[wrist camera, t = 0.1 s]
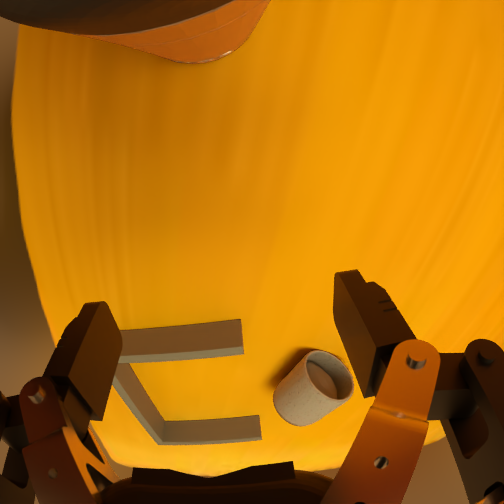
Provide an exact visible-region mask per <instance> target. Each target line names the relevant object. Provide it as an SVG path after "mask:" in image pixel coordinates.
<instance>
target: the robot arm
mask: <svg viewBox="0 0 504 504" xmlns="http://www.w3.org/2000/svg"><path fill="white" fill-rule="evenodd" d="M269 2H270V0H0V16H1V17H3V18H6V19H8V20H11V21H13V22H16V23H20V24H24V25H28V26H32V27H37V28H42V29H48V30H54V31H60V32H65V33H71V34H75V35H80V36H85V37H89V38H94V39H98V40H102V41H106V42H111V43H115V44H119V45H123V46H127V47H130V48H134V49H137V50H141V51H144V52H147V53H151V54H154V55H157V56H160V57H163V58H166V59H170V60H171V61H174V62H180V63H189V64H195V63H206V62H210V61H214V60H218V59H220V58H222V57H224V56H227V55H229V54H230V53H232V52H233V51H235V50H236V49H238V48H239V47H240V46H241V45H242V44H243V43H244V42H245V41H246V40H247V39H248V37H249V36H250V34H251V33H252V31H253V30H254V28H255V26H256V25H257V23H258V21H259V20H260V18H261V16H262V14H263V13H264V11H265V9H266V7H267V6H268V4H269ZM333 315H334V321H335V325H336V327H337V330H338V332H339V335H340V337H341V340H342V342H343V345H344V347H345V350H346V352H347V355H348V358H349V360H350V363H351V365H352V368H353V370H354V373H355V376H356V378H357V381H358V384H359V386H360V389H361V392H362V394H363V397H364V398H368V397H372V396H375V400H374V403H373V405H372V406H371V407H370V409H369V411H368V413H367V415H366V417H365V419H364V422H363V424H362V426H361V428H360V430H359V432H358V434H357V436H356V438H355V440H354V443H353V445H352V447H351V448H350V450H349V452H348V454H347V456H346V458H345V460H344V462H343V464H342V466H341V468H340V469H339V471H338V473H337V475H336V477H335V478H334V479H332V478H329V477H327V476H324V475H321V474H318V473H314V472H309V471H303V470H294V465H293V461H289V462H282V463H275V464H267V465H258V466H250V467H247V468H244V469H241V470H238V471H234V472H231V473H227V474H224V475H220V476H217V477H213V478H204V477H200V476H195V475H191V474H186V473H182V472H178V471H174V470H170V469H150V468H135V467H133V472H132V477H130V478H126V479H122V480H121V479H120V478H119V477H118V476H117V475H116V474H115V472H114V471H113V469H112V468H111V466H110V465H109V463H108V461H107V459H106V458H105V456H104V454H103V452H102V450H101V448H100V446H99V444H98V443H97V440H96V438H95V436H94V434H93V432H92V431H91V429H90V428H89V427H88V425H89V422H90V420H95V421H102V420H103V416H104V412H105V408H106V404H107V400H108V397H109V393H110V389H111V386H112V382H113V378H114V375H115V372H116V368H117V365H118V361H119V358H120V355H121V351H122V347H123V342H122V336H121V333H120V331H119V328H118V326H117V324H116V322H115V320H114V318H113V315H112V313H111V311H110V309H109V306H108V305H107V303H106V302H104V301H101V302H91V303H85V304H84V305H83V307H82V309H81V311H80V313H79V315H78V317H75V318H74V319H73V320H72V321H71V322H70V323H69V324H68V325H67V327H66V328H65V330H64V332H63V334H62V336H61V339H60V340H59V342H58V344H57V348H55V350H54V352H53V354H52V356H51V359H50V361H49V363H48V365H47V367H46V369H45V372H44V374H43V376H42V377H36V378H33V379H31V380H30V381H28V382H27V383H26V384H25V385H24V386H23V388H22V389H21V392H20V394H19V395H15V396H10V397H5V396H4V395H3V394H2V392H1V391H0V440H1V439H2V440H3V441H4V442H5V443H6V444H7V445H8V446H9V450H8V453H7V457H6V460H5V464H4V468H3V473H2V475H1V474H0V504H34V500H35V494H36V497H37V500H38V502H39V504H401V503H402V500H403V498H404V495H405V493H406V491H407V488H408V486H409V483H410V481H411V478H412V475H413V473H414V470H415V467H416V464H417V461H418V459H419V456H420V453H421V450H422V447H423V444H424V441H425V437H426V434H427V430H428V425H429V422H427V420H440V421H441V424H442V426H443V429H444V431H445V434H446V437H447V439H448V442H449V444H450V447H451V449H452V452H453V455H454V458H455V461H456V463H457V466H458V469H459V472H460V475H461V478H462V481H463V483H464V487H465V490H466V493H467V496H468V500H469V503H470V504H504V352H503V350H502V349H501V348H500V347H499V346H498V345H497V344H496V343H494V342H492V341H490V340H486V339H477V340H474V341H472V342H470V343H469V344H468V346H467V347H466V350H465V352H464V353H438V351H437V350H436V348H435V347H434V346H432V345H431V344H429V343H428V342H425V341H422V340H417V339H416V337H415V335H414V334H413V332H412V330H411V329H410V327H409V326H408V324H407V323H406V321H405V319H404V318H403V316H402V315H401V313H400V312H399V310H397V307H396V305H395V304H394V302H393V301H391V298H390V296H389V295H388V293H387V292H386V290H385V289H384V288H382V287H381V286H379V285H378V284H376V283H375V282H368V283H366V282H365V280H364V279H363V277H362V275H361V274H360V272H359V271H358V270H357V269H356V270H350V271H344V272H337V273H335V277H334V299H333Z"/></svg>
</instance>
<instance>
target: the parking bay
mask: <svg viewBox="0 0 504 504" xmlns="http://www.w3.org/2000/svg"><path fill="white" fill-rule="evenodd" d="M120 333H121V336H122V342H123V347H122V351H121V355H120V358H119V361H118V365H117V368H116V372H115V375H114V378H113V382H112V385H113V386H114V388H115V389H116V391H117V392H118V394H119V395H120V396H121V398H122V399H123V401H124V402H125V403H126V405H127V406H128V407H129V409H130V410H131V411H132V413H133V414H134V415H135V417H136V418H137V419H138V421H139V422H140V423H141V424H142V426H143V427H144V428H145V429H146V431H147V432H148V433H149V434H150V436H151V437H152V438H153V439H154V440H155V442H156V443H157V444H158V445H202V444H221V443H235V442H246V441H256V440H262V436H261V427H260V418H259V415H255V416H246V417H236V418H224V419H211V420H192V421H164V419H163V418H162V416H161V415H160V413H159V412H158V410H157V409H156V407H155V406H154V404H153V403H152V401H151V399H150V398H149V396H148V395H147V393H146V391H145V390H144V388H143V387H142V385H141V383H140V382H139V380H138V378H137V377H136V375H135V373H134V371H133V370H132V368H131V366H130V364H129V363H142V362H162V361H177V360H190V359H202V358H213V357H223V356H232V355H241V354H244V349H243V336H242V325H241V320H240V319H237V320H229V321H221V322H212V323H203V324H193V325H183V326H172V327H161V328H149V329H136V330H122V331H120Z"/></svg>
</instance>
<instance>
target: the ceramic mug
mask: <svg viewBox="0 0 504 504" xmlns="http://www.w3.org/2000/svg"><path fill="white" fill-rule="evenodd" d="M353 390H354V383H353V377H352V375H351V373H350V372H349V370H348V369H347V368H346V366H345V365H344V364H343V363H342V362H341V361H340V360H339V359H338V358H337V357H335V356H334V355H332V354H330V353H328V352H325V351H321V350H314V351H311V352H309V353H308V354H306V355H305V356H304V358H303V359H302V360H301V361H300V362H299V363H298V364H297V365H296V366H295V367H294V368H293V369H292V370H291V372H290V373H289V374H288V375H287V376H286V377H285V378H284V379H283V380H282V381H281V382H280V383H279V384H278V386H277V387H276V389H275V391H274V394H273V402H274V406H275V409H276V411H277V412H278V414H279V415H280V416H281V417H282V418H283V419H284V420H285V421H286V422H288V423H290V424H292V425H295V426H306V425H310V424H312V423H314V422H316V421H318V420H320V419H321V418H322V417H324V416H325V415H327V414H328V413H330V412H331V411H333V410H334V409H336V408H337V407H339V406H340V405H342V404H343V403H345V402H346V401H347V400H349V398H350V397H351V396H352V394H353Z"/></svg>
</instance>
